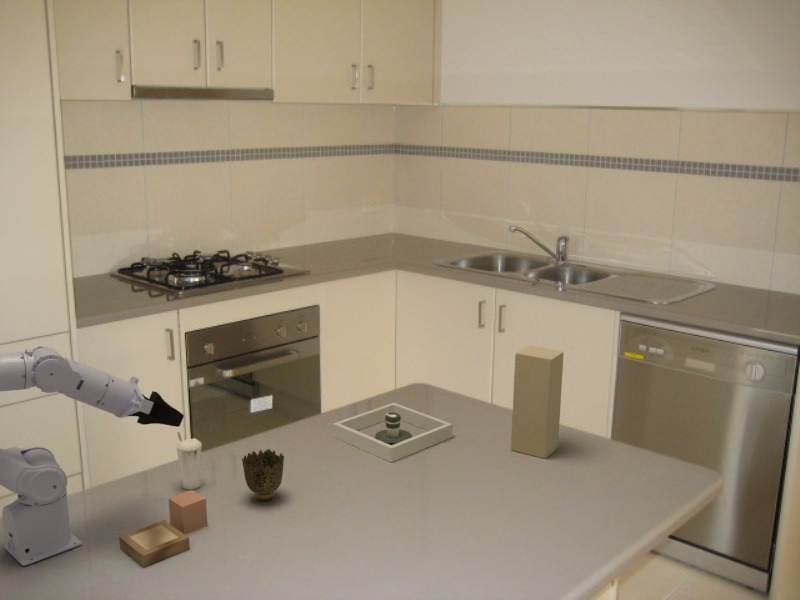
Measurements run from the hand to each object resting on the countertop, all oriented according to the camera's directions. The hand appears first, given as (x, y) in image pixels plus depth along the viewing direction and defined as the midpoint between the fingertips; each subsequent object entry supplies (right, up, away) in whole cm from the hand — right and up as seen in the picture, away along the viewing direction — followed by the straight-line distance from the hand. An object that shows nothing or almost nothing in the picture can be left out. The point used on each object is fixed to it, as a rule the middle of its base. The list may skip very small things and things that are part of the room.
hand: (171, 417), depth 146 cm
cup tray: (+38, -9, +36) cm, 53 cm away
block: (+3, -18, -1) cm, 19 cm away
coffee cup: (+38, -9, +36) cm, 53 cm away
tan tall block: (+67, -11, +30) cm, 74 cm away
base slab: (0, -20, -8) cm, 22 cm away
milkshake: (0, -15, +14) cm, 20 cm away
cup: (+15, -16, +9) cm, 23 cm away
